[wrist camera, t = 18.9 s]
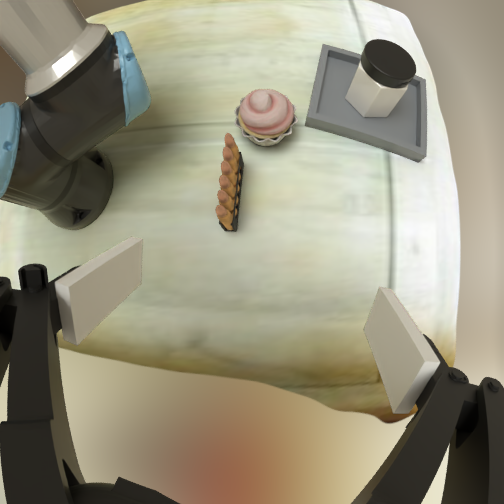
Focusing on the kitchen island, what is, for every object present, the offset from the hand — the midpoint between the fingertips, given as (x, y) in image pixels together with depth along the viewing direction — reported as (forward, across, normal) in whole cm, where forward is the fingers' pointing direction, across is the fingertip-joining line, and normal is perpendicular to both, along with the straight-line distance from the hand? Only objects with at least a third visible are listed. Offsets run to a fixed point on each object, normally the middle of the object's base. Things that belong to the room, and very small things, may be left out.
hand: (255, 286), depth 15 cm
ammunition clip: (+30, -6, 0) cm, 30 cm away
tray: (+38, +13, +20) cm, 45 cm away
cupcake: (+34, -4, +11) cm, 36 cm away
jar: (+37, +12, +21) cm, 44 cm away
